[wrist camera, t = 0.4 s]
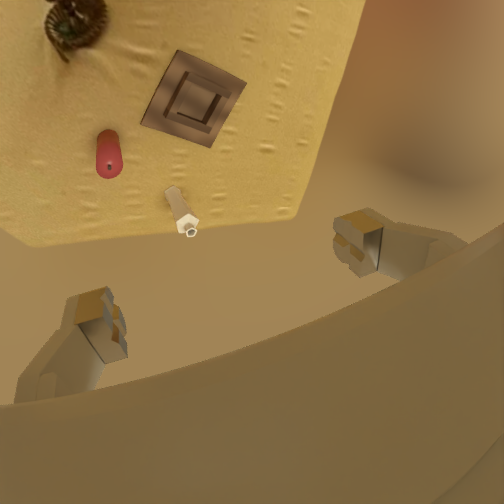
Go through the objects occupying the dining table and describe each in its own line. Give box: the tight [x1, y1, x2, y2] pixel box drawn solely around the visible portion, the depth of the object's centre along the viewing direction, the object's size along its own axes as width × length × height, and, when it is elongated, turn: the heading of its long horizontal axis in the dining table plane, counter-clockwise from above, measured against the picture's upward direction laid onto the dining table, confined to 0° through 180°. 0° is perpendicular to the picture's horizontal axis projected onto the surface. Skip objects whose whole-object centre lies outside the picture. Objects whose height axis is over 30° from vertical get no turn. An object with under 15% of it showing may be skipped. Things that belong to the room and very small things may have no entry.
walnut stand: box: [140, 50, 247, 148], centre depth 50 cm, size 16×16×4 cm
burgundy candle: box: [96, 130, 123, 179], centre depth 44 cm, size 4×4×14 cm
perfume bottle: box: [164, 186, 199, 237], centre depth 59 cm, size 5×4×15 cm
